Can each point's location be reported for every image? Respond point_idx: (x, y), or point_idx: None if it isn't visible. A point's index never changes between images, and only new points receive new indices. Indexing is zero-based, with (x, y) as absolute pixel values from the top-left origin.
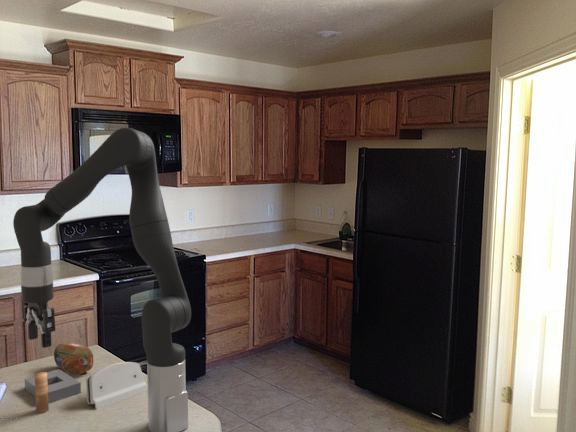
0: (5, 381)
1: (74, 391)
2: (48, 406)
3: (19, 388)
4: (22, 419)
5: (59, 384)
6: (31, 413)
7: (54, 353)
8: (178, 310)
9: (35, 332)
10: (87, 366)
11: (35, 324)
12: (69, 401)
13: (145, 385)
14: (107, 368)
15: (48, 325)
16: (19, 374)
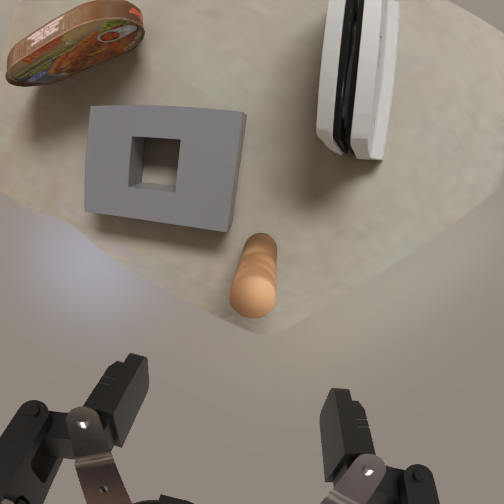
0: (36, 213)
1: (242, 135)
2: (270, 240)
3: None
4: None
5: (197, 164)
6: None
7: (15, 84)
8: None
9: (134, 389)
10: (139, 30)
11: (109, 423)
12: (272, 171)
13: (398, 8)
14: (375, 72)
15: (352, 499)
16: (23, 171)
